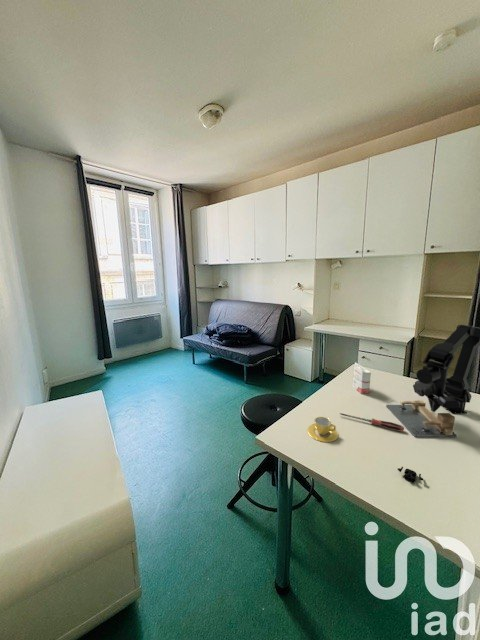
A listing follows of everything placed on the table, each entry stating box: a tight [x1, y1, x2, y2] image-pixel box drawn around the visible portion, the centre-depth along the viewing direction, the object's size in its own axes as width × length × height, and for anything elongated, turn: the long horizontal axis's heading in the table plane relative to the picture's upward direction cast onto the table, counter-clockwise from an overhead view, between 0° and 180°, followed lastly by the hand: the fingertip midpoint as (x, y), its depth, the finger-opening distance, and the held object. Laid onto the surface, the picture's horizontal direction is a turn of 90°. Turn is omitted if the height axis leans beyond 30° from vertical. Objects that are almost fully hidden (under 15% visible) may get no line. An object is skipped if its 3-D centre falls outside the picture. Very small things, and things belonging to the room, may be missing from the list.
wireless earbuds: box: [397, 466, 425, 483], centre depth 82 cm, size 7×2×5 cm
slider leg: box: [423, 412, 456, 432], centre depth 102 cm, size 10×3×6 cm, turn 87°
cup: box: [307, 416, 339, 443], centre depth 105 cm, size 12×12×5 cm
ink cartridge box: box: [352, 362, 372, 394], centre depth 138 cm, size 9×5×15 cm, turn 6°
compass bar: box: [399, 400, 454, 435], centre depth 111 cm, size 10×22×3 cm, turn 177°
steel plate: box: [385, 404, 458, 438], centre depth 111 cm, size 16×22×1 cm
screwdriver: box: [339, 412, 405, 432], centre depth 110 cm, size 25×3×3 cm, turn 61°
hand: (433, 411), depth 109 cm, fingers closed
